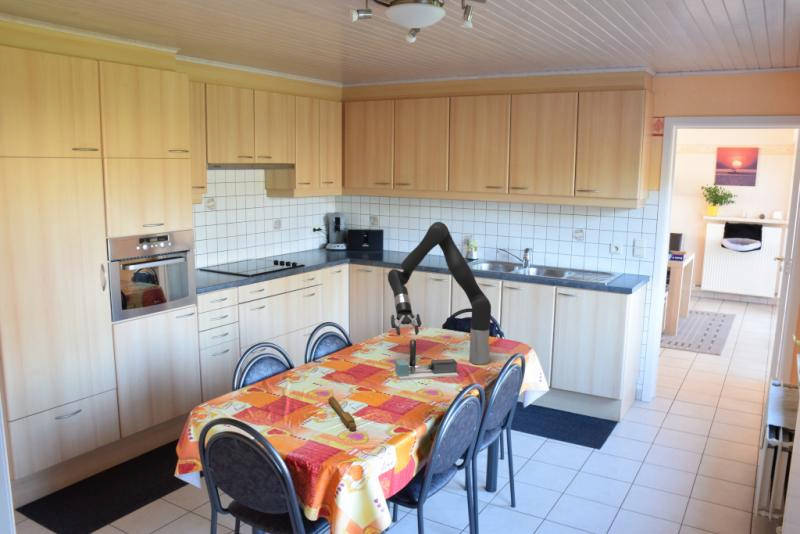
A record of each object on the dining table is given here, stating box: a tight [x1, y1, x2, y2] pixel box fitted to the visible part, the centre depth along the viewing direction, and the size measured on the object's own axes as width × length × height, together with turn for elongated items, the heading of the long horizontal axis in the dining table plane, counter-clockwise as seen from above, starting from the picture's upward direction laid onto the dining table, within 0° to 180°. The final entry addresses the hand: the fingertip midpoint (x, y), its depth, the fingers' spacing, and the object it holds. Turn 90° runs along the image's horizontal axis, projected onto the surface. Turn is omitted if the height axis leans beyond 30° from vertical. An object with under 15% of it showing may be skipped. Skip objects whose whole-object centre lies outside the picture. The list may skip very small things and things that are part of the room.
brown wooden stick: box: [328, 396, 358, 432], centre depth 249 cm, size 3×3×30 cm
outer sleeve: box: [430, 358, 458, 374], centre depth 302 cm, size 11×5×5 cm, turn 103°
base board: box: [393, 369, 460, 381], centre depth 300 cm, size 28×11×1 cm, turn 103°
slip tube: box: [408, 339, 434, 372], centre depth 298 cm, size 17×4×15 cm, turn 103°
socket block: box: [394, 359, 409, 377], centre depth 297 cm, size 4×8×5 cm, turn 13°
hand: (408, 334), depth 305 cm, fingers open, 8 cm apart
